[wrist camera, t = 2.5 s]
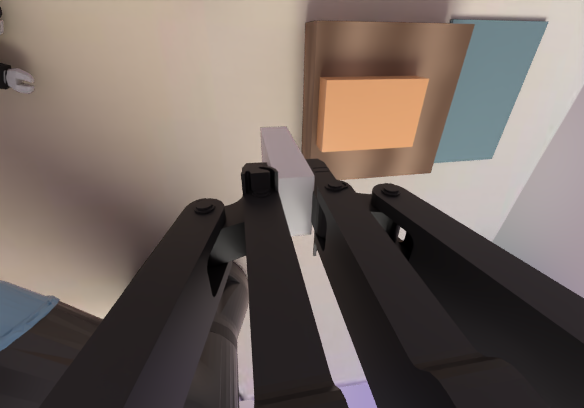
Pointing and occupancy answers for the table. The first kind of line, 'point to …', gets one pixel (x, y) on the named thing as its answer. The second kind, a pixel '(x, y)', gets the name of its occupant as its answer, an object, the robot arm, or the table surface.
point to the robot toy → (14, 74)
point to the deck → (384, 62)
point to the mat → (488, 87)
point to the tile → (369, 112)
